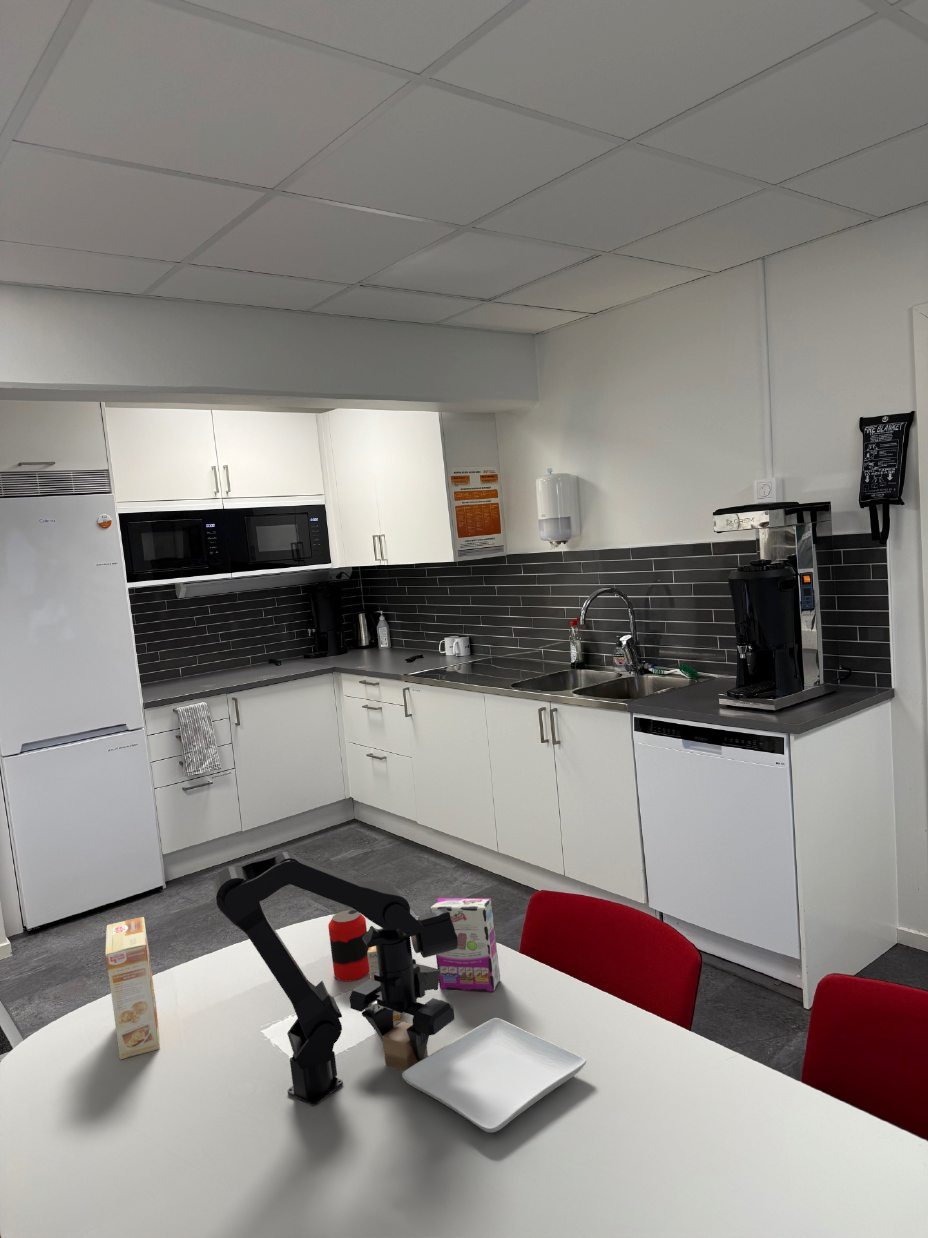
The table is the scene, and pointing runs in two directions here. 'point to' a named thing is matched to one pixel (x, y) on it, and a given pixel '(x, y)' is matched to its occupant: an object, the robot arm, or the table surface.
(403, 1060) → the walnut cube
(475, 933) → the candy bar box
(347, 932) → the soda can
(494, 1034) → the salad plate
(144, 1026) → the coffeecake box
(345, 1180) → the table surface
